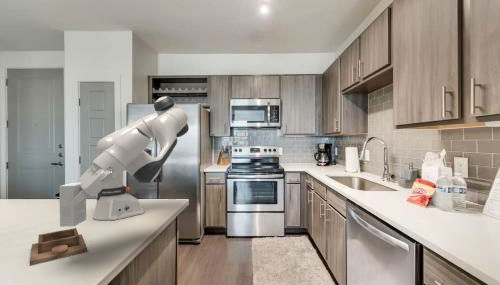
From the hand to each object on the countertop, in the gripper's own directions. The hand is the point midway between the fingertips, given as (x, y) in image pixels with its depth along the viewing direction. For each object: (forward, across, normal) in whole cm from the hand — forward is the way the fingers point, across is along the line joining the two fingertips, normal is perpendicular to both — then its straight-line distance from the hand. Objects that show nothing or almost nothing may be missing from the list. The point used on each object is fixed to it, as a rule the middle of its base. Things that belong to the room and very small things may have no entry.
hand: (70, 201), depth 73 cm
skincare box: (+4, 0, -5) cm, 7 cm away
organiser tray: (+14, +13, -11) cm, 22 cm away
